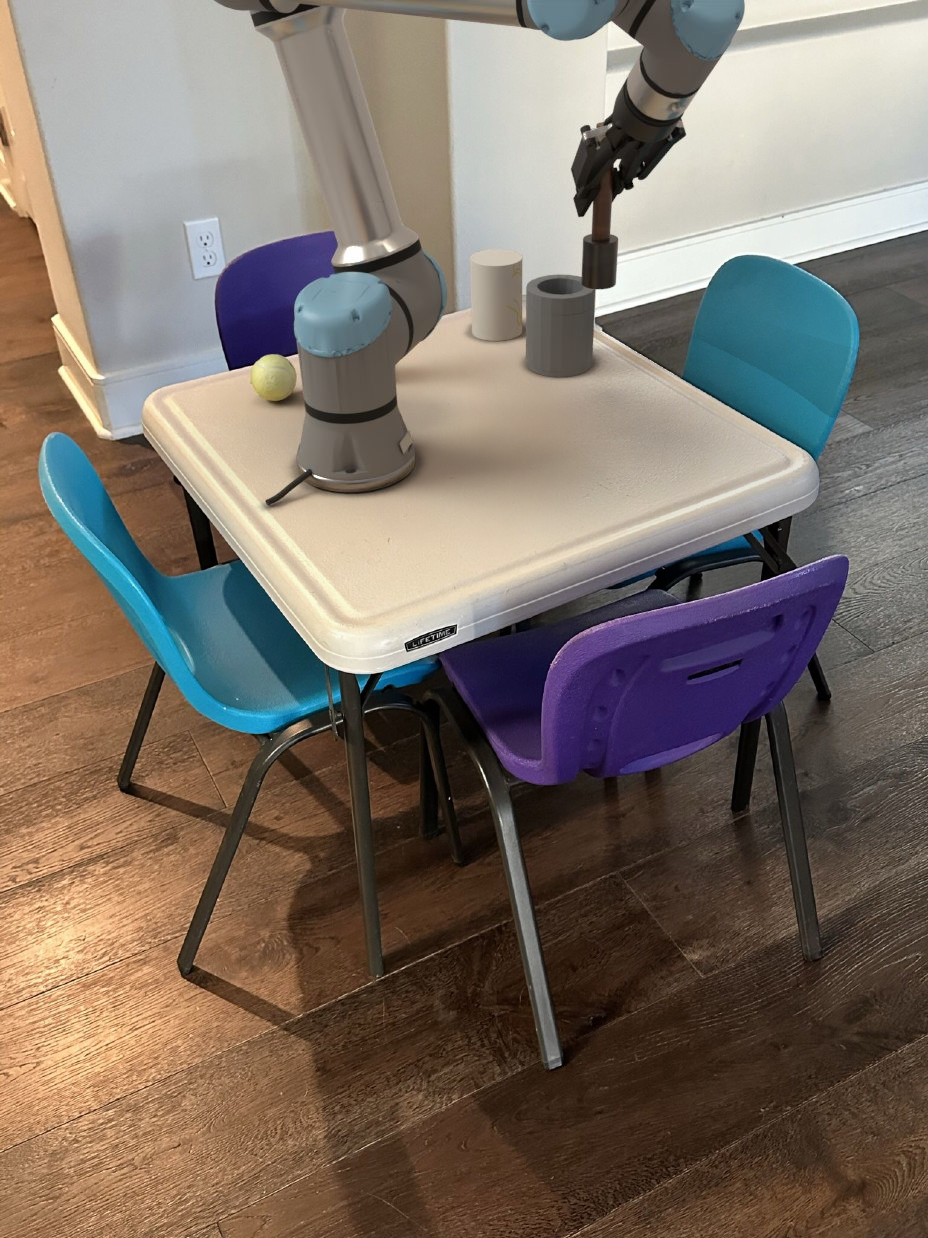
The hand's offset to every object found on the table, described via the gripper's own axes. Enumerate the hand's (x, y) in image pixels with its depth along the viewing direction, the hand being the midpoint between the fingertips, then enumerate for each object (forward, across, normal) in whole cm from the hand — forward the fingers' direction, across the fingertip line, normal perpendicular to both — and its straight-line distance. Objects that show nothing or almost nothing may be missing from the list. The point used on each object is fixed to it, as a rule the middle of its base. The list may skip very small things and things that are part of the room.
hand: (589, 205), depth 148 cm
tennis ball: (+28, -42, -9) cm, 52 cm away
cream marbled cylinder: (+37, -4, 0) cm, 37 cm away
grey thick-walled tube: (+26, +1, -11) cm, 28 cm away
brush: (+4, 0, -9) cm, 10 cm away
